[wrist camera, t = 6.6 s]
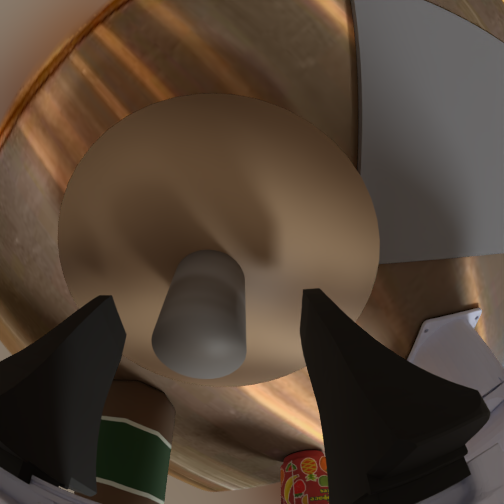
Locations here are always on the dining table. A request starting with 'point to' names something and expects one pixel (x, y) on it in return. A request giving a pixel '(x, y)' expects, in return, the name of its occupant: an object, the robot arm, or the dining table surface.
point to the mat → (430, 130)
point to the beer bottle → (133, 445)
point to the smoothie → (304, 478)
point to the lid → (217, 235)
